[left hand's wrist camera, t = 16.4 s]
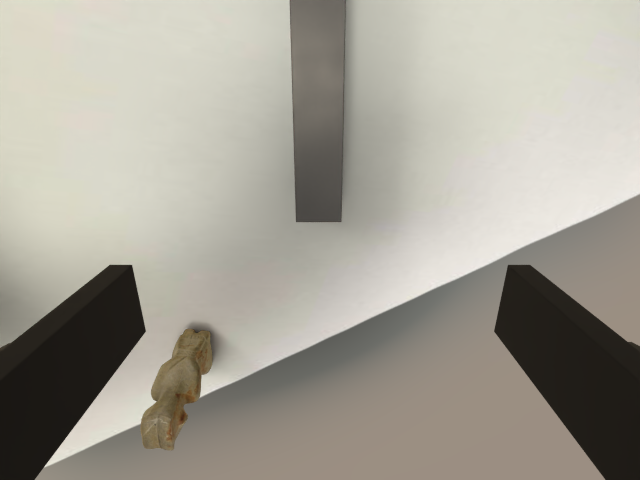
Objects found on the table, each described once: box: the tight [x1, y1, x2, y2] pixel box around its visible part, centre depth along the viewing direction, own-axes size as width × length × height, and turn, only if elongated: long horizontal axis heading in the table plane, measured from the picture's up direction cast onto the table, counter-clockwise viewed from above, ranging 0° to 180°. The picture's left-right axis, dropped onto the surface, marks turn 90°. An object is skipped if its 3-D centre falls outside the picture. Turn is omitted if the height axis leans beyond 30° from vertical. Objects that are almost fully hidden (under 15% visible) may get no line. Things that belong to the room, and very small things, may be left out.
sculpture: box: [141, 329, 212, 450], centre depth 46 cm, size 6×7×15 cm
